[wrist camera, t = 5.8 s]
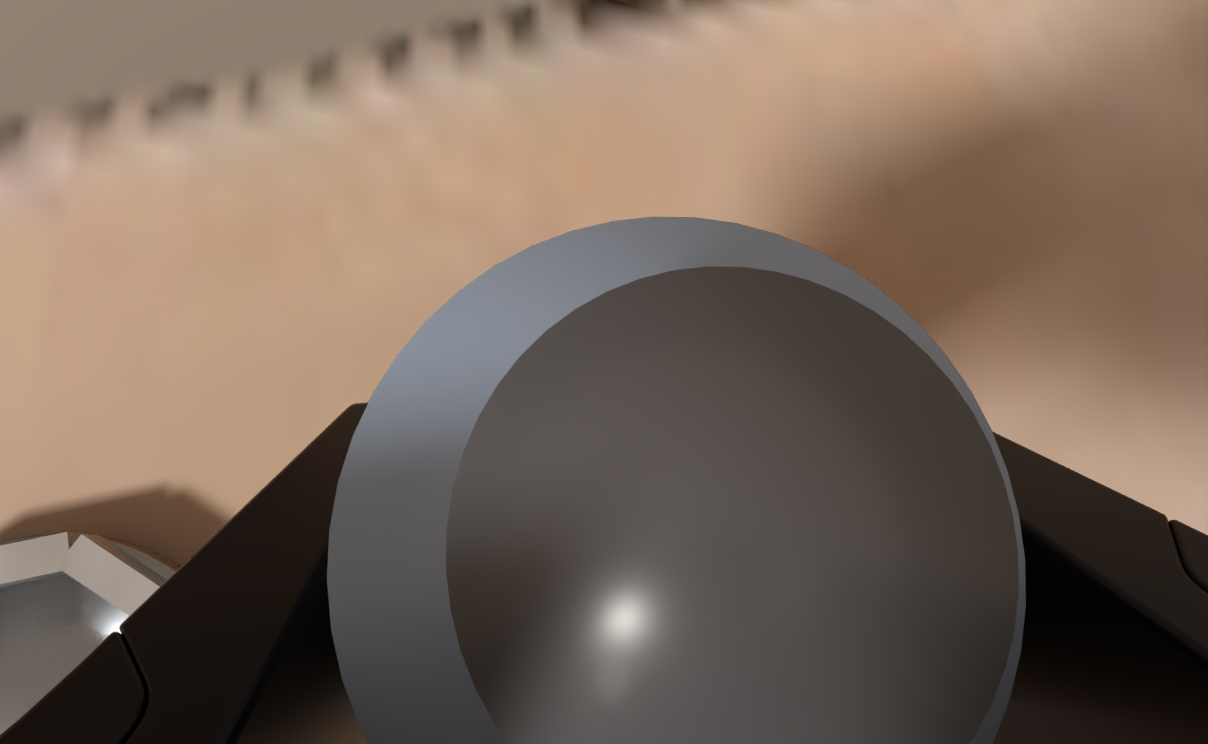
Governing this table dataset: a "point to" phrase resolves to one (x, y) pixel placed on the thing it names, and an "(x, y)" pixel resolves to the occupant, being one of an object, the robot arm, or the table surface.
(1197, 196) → the table surface
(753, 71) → the table surface
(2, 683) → the bowl
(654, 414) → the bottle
